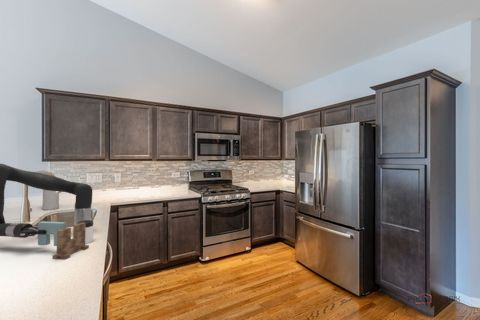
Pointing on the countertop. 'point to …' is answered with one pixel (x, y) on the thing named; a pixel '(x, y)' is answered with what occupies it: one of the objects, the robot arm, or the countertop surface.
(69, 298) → the countertop surface
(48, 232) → the teal rectangular panel
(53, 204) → the cylinder vase
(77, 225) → the brown wooden u-shaped piece
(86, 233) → the jar
